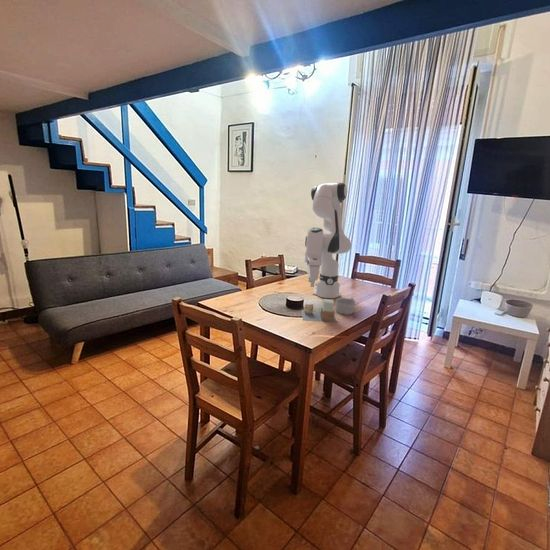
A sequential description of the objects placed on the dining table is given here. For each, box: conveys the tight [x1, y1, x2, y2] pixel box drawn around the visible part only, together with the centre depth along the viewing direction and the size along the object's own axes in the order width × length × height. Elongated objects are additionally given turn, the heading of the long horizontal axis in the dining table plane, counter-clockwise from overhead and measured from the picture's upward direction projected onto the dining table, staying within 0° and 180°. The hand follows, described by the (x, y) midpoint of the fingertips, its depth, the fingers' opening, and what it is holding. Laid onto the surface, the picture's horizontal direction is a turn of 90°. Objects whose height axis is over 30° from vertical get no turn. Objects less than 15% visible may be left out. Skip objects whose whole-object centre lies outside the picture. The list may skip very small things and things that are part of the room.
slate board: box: [300, 310, 338, 323], centre depth 177 cm, size 14×18×1 cm
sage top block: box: [321, 298, 335, 312], centre depth 172 cm, size 5×5×5 cm
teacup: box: [335, 297, 356, 316], centre depth 186 cm, size 14×11×8 cm
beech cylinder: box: [304, 302, 314, 315], centre depth 180 cm, size 4×4×5 cm
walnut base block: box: [320, 307, 335, 321], centre depth 173 cm, size 6×6×5 cm
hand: (311, 284), depth 176 cm, fingers open, 8 cm apart
